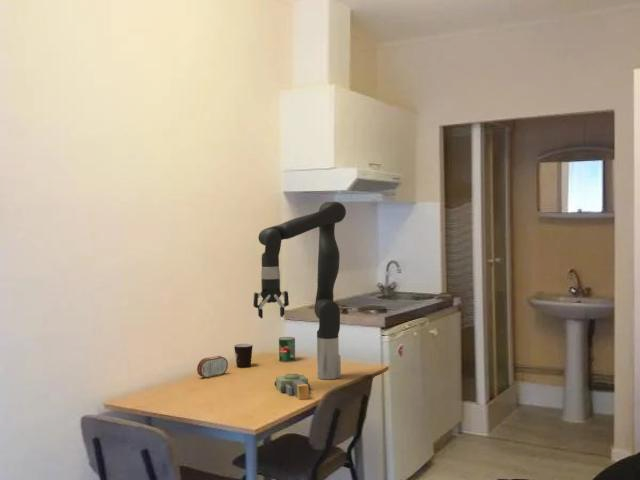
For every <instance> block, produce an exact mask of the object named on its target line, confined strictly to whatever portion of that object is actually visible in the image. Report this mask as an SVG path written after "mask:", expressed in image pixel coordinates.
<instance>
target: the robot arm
mask: <svg viewBox="0 0 640 480" xmlns="http://www.w3.org/2000/svg"><path fill="white" fill-rule="evenodd" d="M346 214H347V211H346V207H345V206H344V204H343V203H341V202H338V201H326V202H324V203H322V204H320V207H319V208H318V211H316V212H314V213H310V214H306V215H302V216H299V217H295V218H293V219H290V220H287V221H285V222H283V223H280V224H277V225H273V226H269V227H266V228H264V229H262V230H261V231H259V234H258V241H259V243H260V244H261V245H263V246H265V247H264V252H263V253H262V254H261V270H260V272H261V274H260V275H261V292H254V293H253V304H252V305H253V308H256V309H258V310H257V313H258V315H257V316H258V317H259V318H260V319H263V318H264V317H263V316H264V315H263V312H264V311H263V308H264V306H265V304H267V303H268V304H270V303H273V304H274V303H277V304H278V305H279V306H280V307H279V317H281V318H284V316H285V309H286V307H289V305H290V302H289V293H288V290H287V291H286V290H284V291H281V274H280V273H281V272H280V271H281V270H280V257H279V255H280V253H281V246H282V241H283V240H289V239H293V238H295V237H297V236H299V235H301V234H302V235H303V234H304V233H307V232H309V231H312V230H314V229H317V228H318V232H319V233H318V236H319V238H318V254H317V280H316V281H317V286H316V289H317V290H316V296H315V301H314V302H315V303H314V314H315V316H316V317H317V319H318V321H319V324H318V330H317V331H316V353H317V354H316V356H317V357H316V359H317V360H316V361H317V362H316V363H317V378H318V379H320V380H335V379H338V378H339V379H340V378H341V377H342V372H341V371H342V369H341V366H342V365H341V354H339V353H340V351H339V350H340V349H339V348H340V347H339V346H340V345H339V340H340V339H339V335H340V330H341V310H340V306H339V304H338V303H337V302H335V301H334V288H335V284H336V281H337V277H338V274H339V272H340V271H339V270H340V251H339V249H340V248H339V247H338V244H337V240H336V236H335V231H336V230H335V226H336V224H338V223H340V222H342V221H343V220H345V219H344V218H345V217H346ZM281 296H282V297H283V301H284V303H283V302H282V300H281V298H280V297H281ZM260 297H261V298H262V299H261V301H260V303H259V298H260Z"/></svg>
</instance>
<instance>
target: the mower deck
mask: <svg viewBox="0 0 640 480" xmlns="http://www.w3.org/2000/svg"><path fill="white" fill-rule="evenodd" d="M295 380H301V381H303V382H304V383H305V384H307V385H308V395H309V394H310V389H311V385H310V383H309V378H307V376H305V375H304V374H300V373H299V374H298V373H287V374H284V375H282V376H281V375H280V376H276V377H275V381H274V383H273V384H274V386H275V388H276V390H278V391H279V392H281V393H283V394H287V396H289V397H290V396H291V397H292V396H293V394H292V381H295Z"/></svg>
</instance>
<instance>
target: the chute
mask: <svg viewBox="0 0 640 480" xmlns="http://www.w3.org/2000/svg"><path fill="white" fill-rule="evenodd" d="M292 396H294V397H295V398H297V400H309V394H308V385H307V384H305V383H304V382H303V381H301V380H295V381H292Z"/></svg>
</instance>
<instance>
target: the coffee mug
mask: <svg viewBox="0 0 640 480" xmlns="http://www.w3.org/2000/svg"><path fill="white" fill-rule="evenodd" d="M233 348H234V354H235V356H234V357H235V362H236V368H237V369H247V368H248V369H249V368H251V366H252V356H253V344H252V343H238V344H234V345H233Z"/></svg>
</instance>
